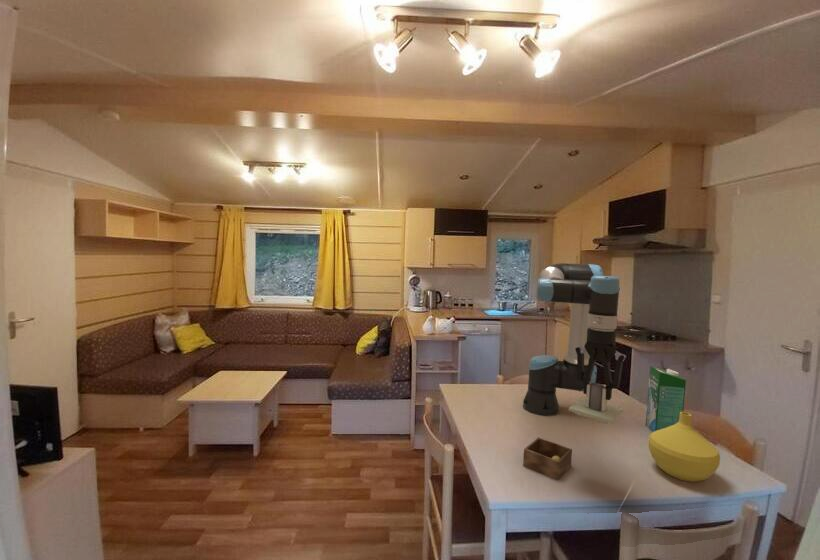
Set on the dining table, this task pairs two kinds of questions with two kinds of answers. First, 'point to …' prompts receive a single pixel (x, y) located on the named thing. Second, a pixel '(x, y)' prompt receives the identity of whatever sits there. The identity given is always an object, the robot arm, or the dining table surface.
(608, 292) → the robot arm
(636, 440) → the dining table surface
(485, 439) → the dining table surface
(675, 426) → the vase
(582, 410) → the lid
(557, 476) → the walnut box
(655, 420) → the milk carton
